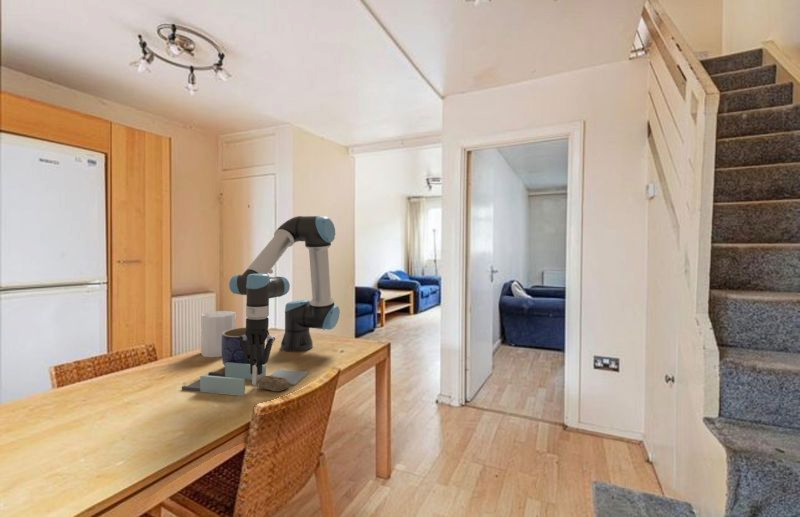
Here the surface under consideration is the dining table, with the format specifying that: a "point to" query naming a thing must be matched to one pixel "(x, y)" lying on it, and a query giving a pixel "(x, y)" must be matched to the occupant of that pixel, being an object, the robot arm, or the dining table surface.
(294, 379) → the pad
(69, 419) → the dining table surface
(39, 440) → the dining table surface
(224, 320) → the container
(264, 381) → the rock
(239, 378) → the trough
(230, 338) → the planter
